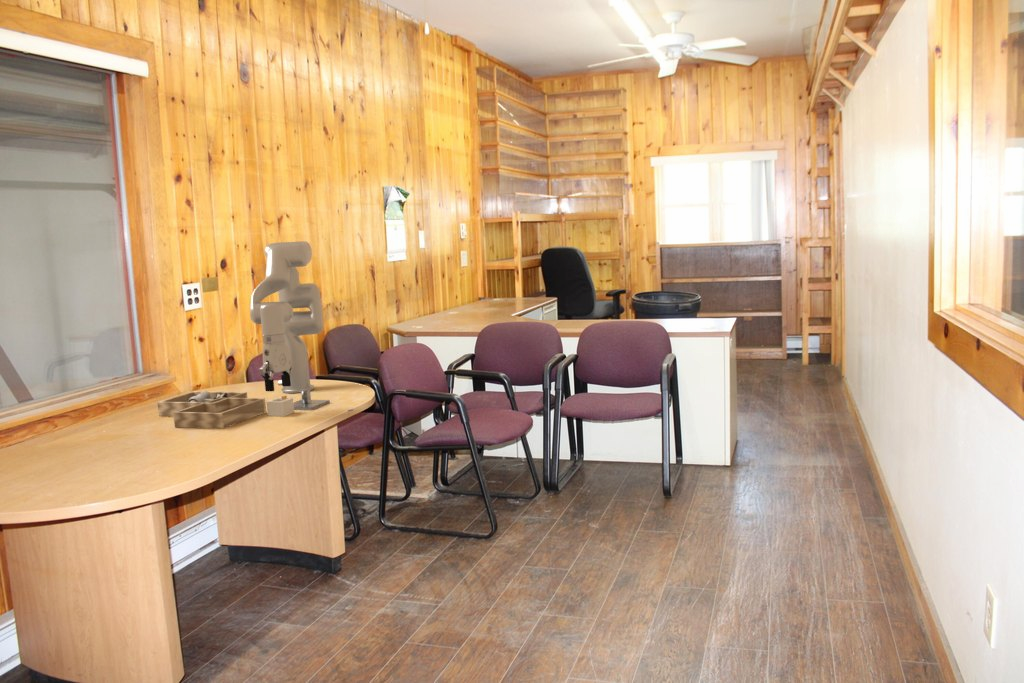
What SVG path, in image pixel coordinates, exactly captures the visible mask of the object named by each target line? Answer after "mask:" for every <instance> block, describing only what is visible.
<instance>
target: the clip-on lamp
mask: <svg viewBox="0 0 1024 683" xmlns="http://www.w3.org/2000/svg"><path fill="white" fill-rule="evenodd" d="M200 392H201V393H200V394H198V395H197V396H193V397H191V398H190V399H189V401H188V402H201V403H204V402H205V401H206V402H208V401H211V400H214V399H217V398H226V395H227V393H225V394H222V395H219V394H218V393H217V394H216V397H215V398H214V399H209V397H210V394H209V392H210V391H207V390H202V391H200Z"/></svg>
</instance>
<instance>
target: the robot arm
mask: <svg viewBox="0 0 1024 683" xmlns="http://www.w3.org/2000/svg"><path fill="white" fill-rule="evenodd" d="M264 254H265V257H266V264H265V278H264V279H263V280H262V281H260V283H259V284H258V285H257V286H256V287H255V288H254V290H253V292H252V294H251V296H250V305H249V315H250V319H251V321H252V323H254V324H256V325H261V335H262V366H260V367H259V372H260V374H261V377H262V379H263V381H264V390H265V392H274V391H275V382H274V379H273V378H274V374H280V373H281V375H280V377H281V379H280V380H278V382H277V385H278V386H282V387H283V388H282V389H281V391H282V392H283V393H284V394H297V393H299V394H300V393H301V391H305V390H309V391H310V392H311V391H313V390H315V385H314V384H311V377H310V367H309V365H310V364H309V356H308V346H307V344H306V342H305V341H304V340H303V339H302V337H300V336H310V335H311V336H312V335H319V334H321V333H322V332H323V330H324V316H323V314H324V313H323V306H322V297H321V296H322V295H321V292H320V288H319V286H318V285H317V284H316V283H311V282H309V283H301V281H300V275H299V274H300V273H299V270H298V269H297V268H301V267H306V266H308V264H310V262H311V260H312V257H313V250H312V246H311V244H310V243H309V242H308V241H304V240H303V241H282V242H281V241H280V242H272V243H269V244H267V245H266V246H264ZM275 293H278V301H266V302H265V301H264V302H262V301H263V300H265V299H266V298H268V297H269V296H271V295H273V294H275ZM294 309H308V310H302V311H301V310H300V311H298V310H297V311H296V310H295V311H294Z"/></svg>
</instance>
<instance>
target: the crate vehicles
mask: <svg viewBox="0 0 1024 683" xmlns="http://www.w3.org/2000/svg"><path fill="white" fill-rule="evenodd" d="M223 399H226V398H217V399H214V400H211V401H208V402H205V403H213V402H216V401H220V400H223ZM205 403H201V404H198V405H195V406H192V407H189V408H186V409H183V410H180V411H176V412H173V415H174V416H173V422H174V428H189V429H190V428H191V429H215V428H217V429H218V428H219V429H218V430H221V429H225V427H226V428H228V427H231V426H234V425H236V424H239V423H241V422H245V421H247V420H249V418H250V419H252V418H255V417H258V416H260V415H262V414H265V412H266V413H267V404H266V399H265V398H264V397H263V398H262V397H261V398H260V397H247V398H229V406H230V410H227V411H225V412H222V413H206V410H205ZM257 415H258V416H257ZM233 424H234V425H233ZM230 425H231V426H230ZM217 429H216V430H217Z"/></svg>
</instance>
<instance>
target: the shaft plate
mask: <svg viewBox="0 0 1024 683" xmlns="http://www.w3.org/2000/svg"><path fill="white" fill-rule="evenodd" d="M300 393H301V399H299V400H295V401H293V405H294V411H296V410H297V411H298V410H301V411H313V410H315V409H318V408H320V407H323V406H326V405H328V404H331V403H330V402H331V401H330V399H312V398H311V397H312V395H311V391H309V390H305V391H301V392H300Z"/></svg>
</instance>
